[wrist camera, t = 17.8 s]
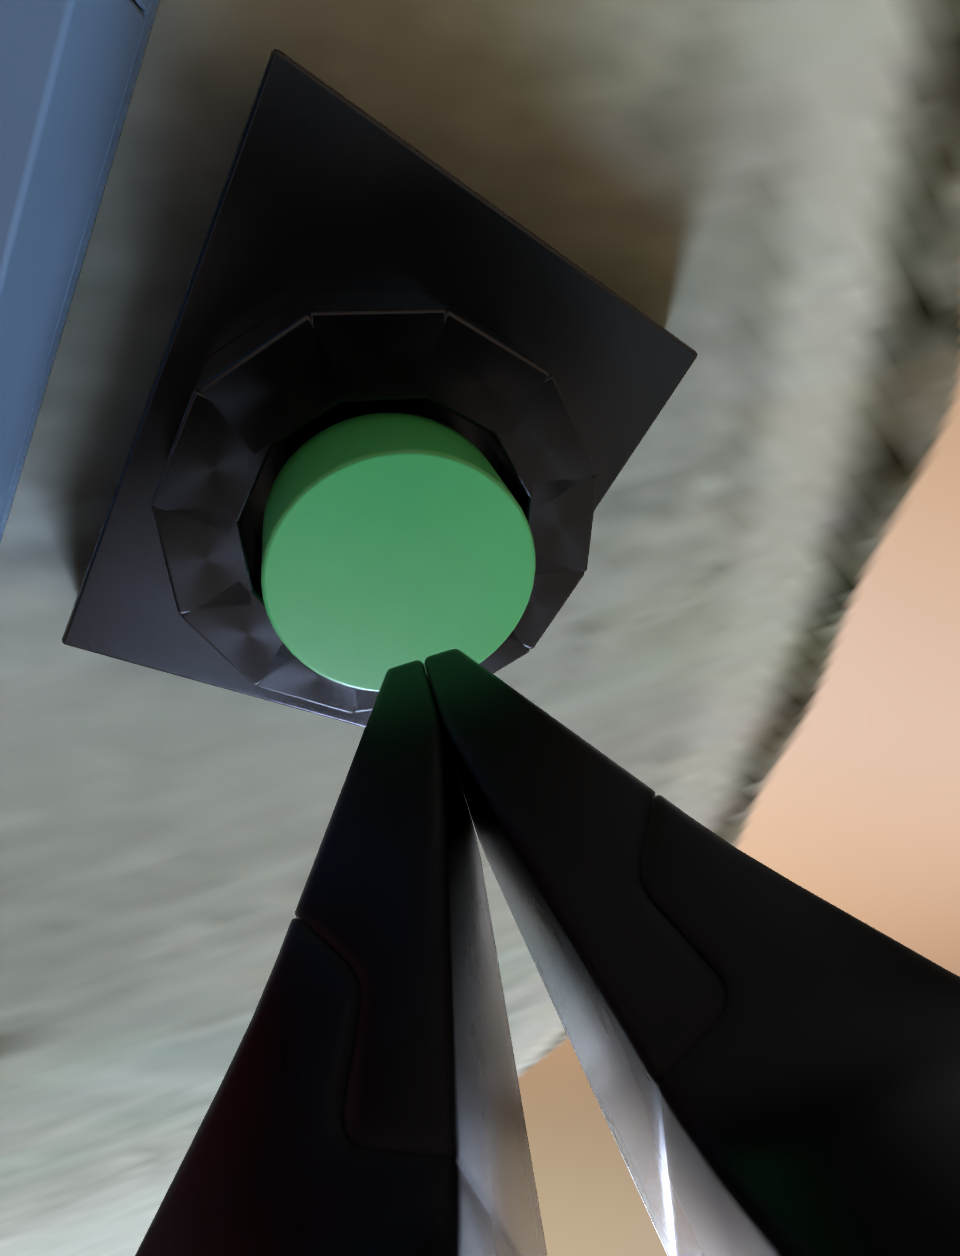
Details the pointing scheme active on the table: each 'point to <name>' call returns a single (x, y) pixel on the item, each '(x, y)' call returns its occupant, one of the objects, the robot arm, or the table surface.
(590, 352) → the control panel
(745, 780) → the table surface
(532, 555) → the button
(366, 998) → the robot arm
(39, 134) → the basket
